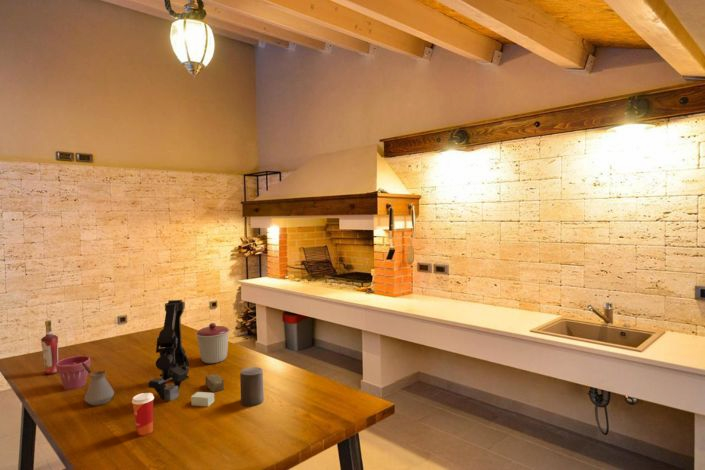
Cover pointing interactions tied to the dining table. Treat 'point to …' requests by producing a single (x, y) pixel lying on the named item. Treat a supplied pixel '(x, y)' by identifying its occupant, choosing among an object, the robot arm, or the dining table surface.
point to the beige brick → (202, 399)
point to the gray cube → (171, 392)
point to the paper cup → (143, 413)
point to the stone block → (214, 383)
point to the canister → (213, 343)
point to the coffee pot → (98, 388)
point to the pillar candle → (251, 386)
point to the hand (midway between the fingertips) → (170, 395)
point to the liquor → (50, 349)
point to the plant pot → (73, 371)
